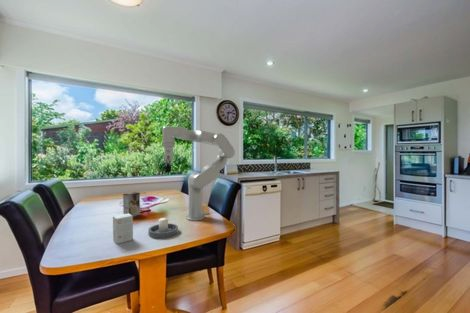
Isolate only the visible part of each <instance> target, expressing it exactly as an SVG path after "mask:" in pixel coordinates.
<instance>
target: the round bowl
mask: <svg viewBox="0 0 470 313" xmlns="http://www.w3.org/2000/svg"><path fill="white" fill-rule="evenodd" d="M147 231H148V232H147V233H148V237H150V238H152V239H161V240H162V239H168V238H172V237H174V236H176V235H178V233H179V226H178V225H177V224H175V223H169V222H168V232H162V233H159V223H158V224H155V225H151V227H148V230H147Z"/></svg>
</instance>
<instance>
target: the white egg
mask: <svg viewBox="0 0 470 313" xmlns="http://www.w3.org/2000/svg"><path fill="white" fill-rule="evenodd" d="M168 223H169V218H167V217H161V218H159V219H158V224H159V233H162V232H168Z"/></svg>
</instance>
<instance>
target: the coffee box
mask: <svg viewBox="0 0 470 313" xmlns="http://www.w3.org/2000/svg"><path fill="white" fill-rule="evenodd" d="M140 194H141V193H140V192H136V191H132V192H128V193H122V202H123V207H122V210H123V213H122V214H128V213H129V214H131V215H132V216H133V217H135V216H140V214H141V200H140V199H141V198H140V196H141V195H140Z"/></svg>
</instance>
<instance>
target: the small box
mask: <svg viewBox="0 0 470 313" xmlns="http://www.w3.org/2000/svg"><path fill="white" fill-rule="evenodd" d="M133 218H134V216H132V215H131V214H129V213H128V214H123V213H122V214H117V215H112V235H113V236H112V240H113V242H114V243H115V244H116V245H117V244H121V243H126V242H130V241H133V240H134V225H133V224H134V223H133V221H134V219H133Z"/></svg>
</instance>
